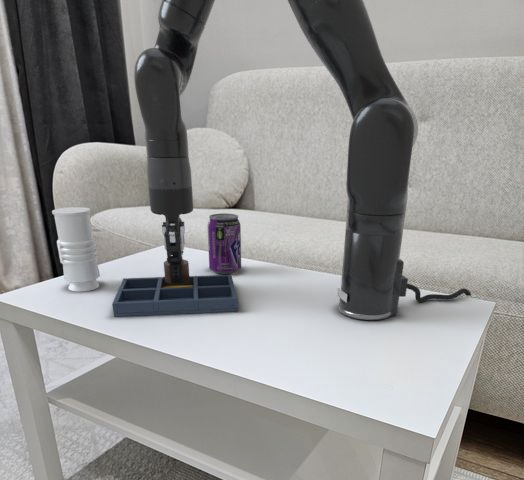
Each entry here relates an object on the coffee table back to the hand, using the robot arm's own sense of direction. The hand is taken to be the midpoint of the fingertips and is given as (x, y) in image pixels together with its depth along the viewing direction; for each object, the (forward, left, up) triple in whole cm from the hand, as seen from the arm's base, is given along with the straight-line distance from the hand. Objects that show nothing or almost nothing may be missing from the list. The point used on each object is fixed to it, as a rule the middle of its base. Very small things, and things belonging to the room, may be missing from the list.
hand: (177, 278), depth 90 cm
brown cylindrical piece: (0, 0, 0) cm, 0 cm away
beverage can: (-10, -15, -3) cm, 18 cm away
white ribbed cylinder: (+19, -7, -3) cm, 21 cm away
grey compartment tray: (0, +3, -3) cm, 5 cm away
